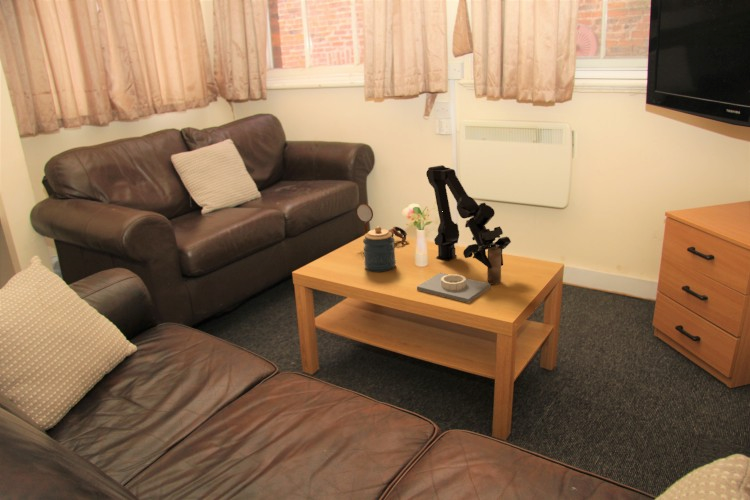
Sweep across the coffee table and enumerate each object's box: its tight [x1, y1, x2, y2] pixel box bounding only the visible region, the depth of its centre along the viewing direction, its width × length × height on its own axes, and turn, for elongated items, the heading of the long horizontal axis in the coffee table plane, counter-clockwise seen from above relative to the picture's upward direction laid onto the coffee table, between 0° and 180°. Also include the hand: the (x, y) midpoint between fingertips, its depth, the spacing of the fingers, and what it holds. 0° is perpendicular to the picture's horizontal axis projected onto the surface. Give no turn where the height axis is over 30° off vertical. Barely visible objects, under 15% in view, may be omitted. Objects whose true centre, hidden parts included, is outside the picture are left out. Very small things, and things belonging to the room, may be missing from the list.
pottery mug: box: [388, 226, 408, 245], centre depth 273 cm, size 12×10×8 cm
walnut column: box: [486, 247, 502, 285], centre depth 222 cm, size 5×5×13 cm
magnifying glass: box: [356, 203, 374, 239], centre depth 269 cm, size 9×2×20 cm, turn 57°
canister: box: [362, 225, 397, 273], centre depth 243 cm, size 13×13×18 cm
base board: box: [416, 272, 491, 304], centre depth 220 cm, size 22×16×4 cm
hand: (496, 266), depth 220 cm, fingers closed on walnut column, 5 cm apart
